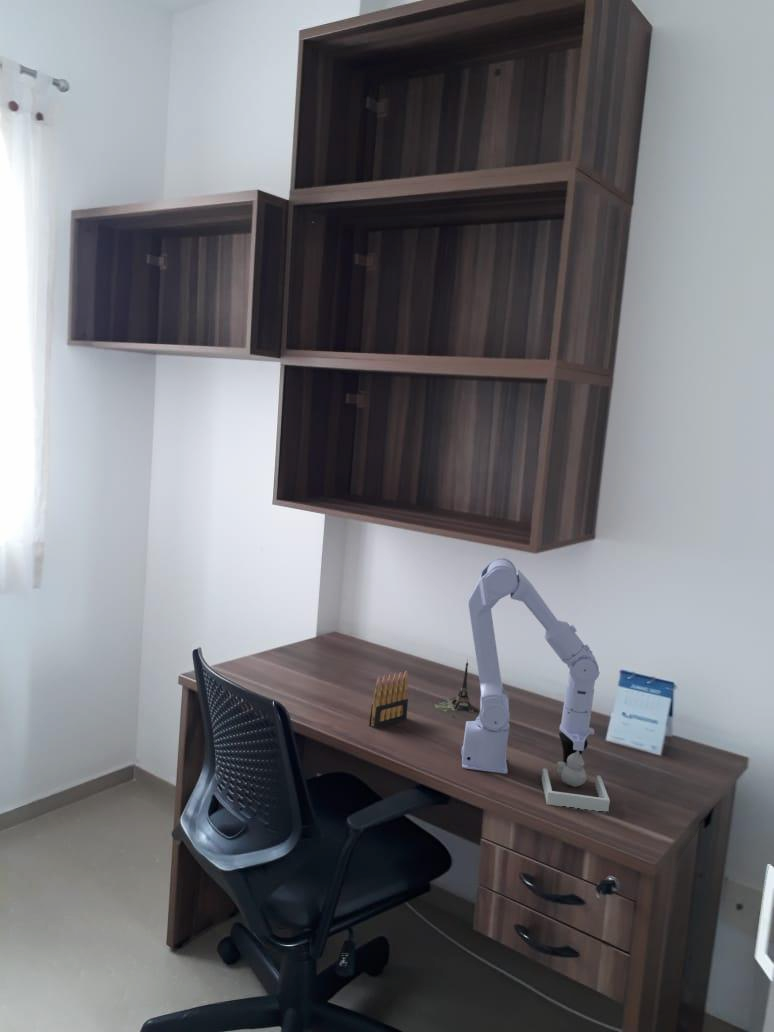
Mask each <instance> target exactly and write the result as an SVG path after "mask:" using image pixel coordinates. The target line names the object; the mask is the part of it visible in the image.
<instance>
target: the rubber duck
mask: <svg viewBox="0 0 774 1032" xmlns="http://www.w3.org/2000/svg"><path fill="white" fill-rule="evenodd" d="M556 766H557V771H556V772H557V774H558V775H560V776H561V778H560V779H561V781H562V783H563V782H564V783H565V784H566V785H568V786H571V787H575V788H577V787H580V786H581V785H583V784H585V783H586V781H587V776H588V775H587V773H586V771H585V768H584V766H585V761H584V759H583V757H582V754H580V753H579V750H577V751H576V753H573V754H571V755H570V756H569V757H568V759H567V764H566V763H565V762H563V760H560V761H558V762H557V763H556Z"/></svg>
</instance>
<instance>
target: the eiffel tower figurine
mask: <svg viewBox="0 0 774 1032" xmlns="http://www.w3.org/2000/svg"><path fill="white" fill-rule="evenodd" d="M468 660H469V659H468V658H467V661H466V662H465V669H464V676H463V680H462V684H461V686H460V690H459V692H458V693H457V694H456V696H455V697H451V698H448V699H445V700H441V701H439V702H436V703H434V704H433V705H434V708H435V709H436V710H439V711H442V712H449V711H451V710H452V711H456V712H469V713H475V712H474V709H473V707H472V704H471V702H470V697H469V694H468V687H467V686H468V667H469V663H468ZM448 716H449V717H453V718H456V719H457V720H459V719H460V718H459V717H457V716H455V715H453V714H448Z"/></svg>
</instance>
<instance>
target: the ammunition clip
mask: <svg viewBox="0 0 774 1032" xmlns="http://www.w3.org/2000/svg"><path fill="white" fill-rule="evenodd" d="M408 674H409V673H408V670H405V672H404V674H403V672H402V671H400V672H399V673H398V674H397V672H395V673H394V674H393V675H394V676H393V675H392V674H389V676H388V678H387V676H386V675H384V676H383V678H382V679H381V676H378V678H377V680H376V684H375V689H374V694H373V702H372V704H371V709H370V716H369V723H368V725H369V726H370V727H371V728H373V729H377V728H380V727H383V726H384V727H385V726H387V725H391V724H395V723H399V722H402V721H405V720H407V719H408V718H407V717H408V704H409V703H408V702H409V699H408V698H407V697H408V692H409V691H408V690H409V688H408V684H409V682H408V680H409V675H408Z"/></svg>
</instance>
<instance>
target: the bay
mask: <svg viewBox="0 0 774 1032" xmlns="http://www.w3.org/2000/svg"><path fill="white" fill-rule="evenodd" d="M541 773H542V774H541V782H542V789H543V792H544V798H545V802H546V805H548V806H549V805H550V806H554V807H555V806H557V807H562V806H566V807H565V808H569V807H574V808H573V809H577V808H580V809H579V810H584V809H588V810H587V811H591V810H595V811H594V812H598V811H608V812H609V808H610V803H611V800H610V798H609V794H608V792H607V790H606V787H605V784H604V781H603V779H602V776H601V775H596V777H595V783H594V788H595V787H596V788H595V791H596V790H597V791H596V793H598V794H597V796H591V795H583V794H576V793H569V792H562V791H555V790H552V785H551V781H550V780H551V779H550V777H549V772H548V768H545V767H544V768H542V772H541ZM598 796H599V797H598Z"/></svg>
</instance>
